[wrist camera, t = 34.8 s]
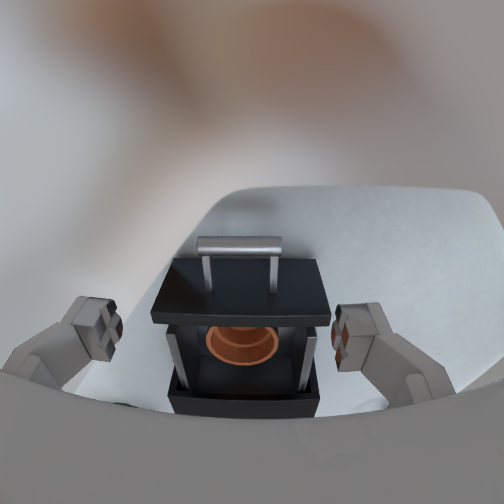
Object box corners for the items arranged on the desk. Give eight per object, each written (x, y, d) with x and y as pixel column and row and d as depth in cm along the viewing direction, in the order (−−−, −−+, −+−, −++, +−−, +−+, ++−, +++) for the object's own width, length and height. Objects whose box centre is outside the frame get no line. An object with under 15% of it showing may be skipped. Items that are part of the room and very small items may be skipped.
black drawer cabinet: (184, 328, 34) (167, 395, 26) (309, 330, 34) (320, 398, 25) (200, 394, 41) (191, 449, 33) (296, 396, 41) (301, 451, 33)
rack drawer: (166, 212, 26) (136, 258, 19) (320, 212, 25) (342, 259, 18) (191, 352, 35) (180, 405, 28) (302, 353, 34) (308, 407, 28)
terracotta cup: (209, 284, 28) (202, 316, 24) (277, 285, 28) (280, 317, 24) (214, 331, 31) (209, 364, 27) (274, 333, 31) (276, 365, 27)
